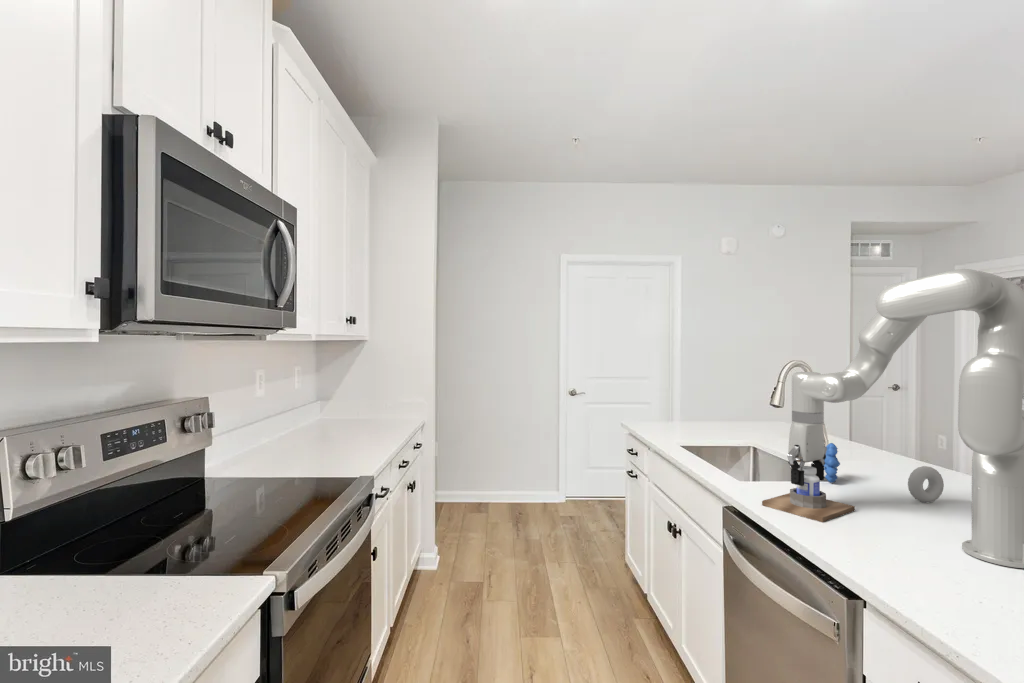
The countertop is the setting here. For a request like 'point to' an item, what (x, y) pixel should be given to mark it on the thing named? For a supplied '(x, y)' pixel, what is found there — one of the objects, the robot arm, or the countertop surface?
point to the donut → (933, 487)
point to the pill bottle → (809, 482)
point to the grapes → (831, 463)
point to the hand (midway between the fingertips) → (807, 481)
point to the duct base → (809, 512)
